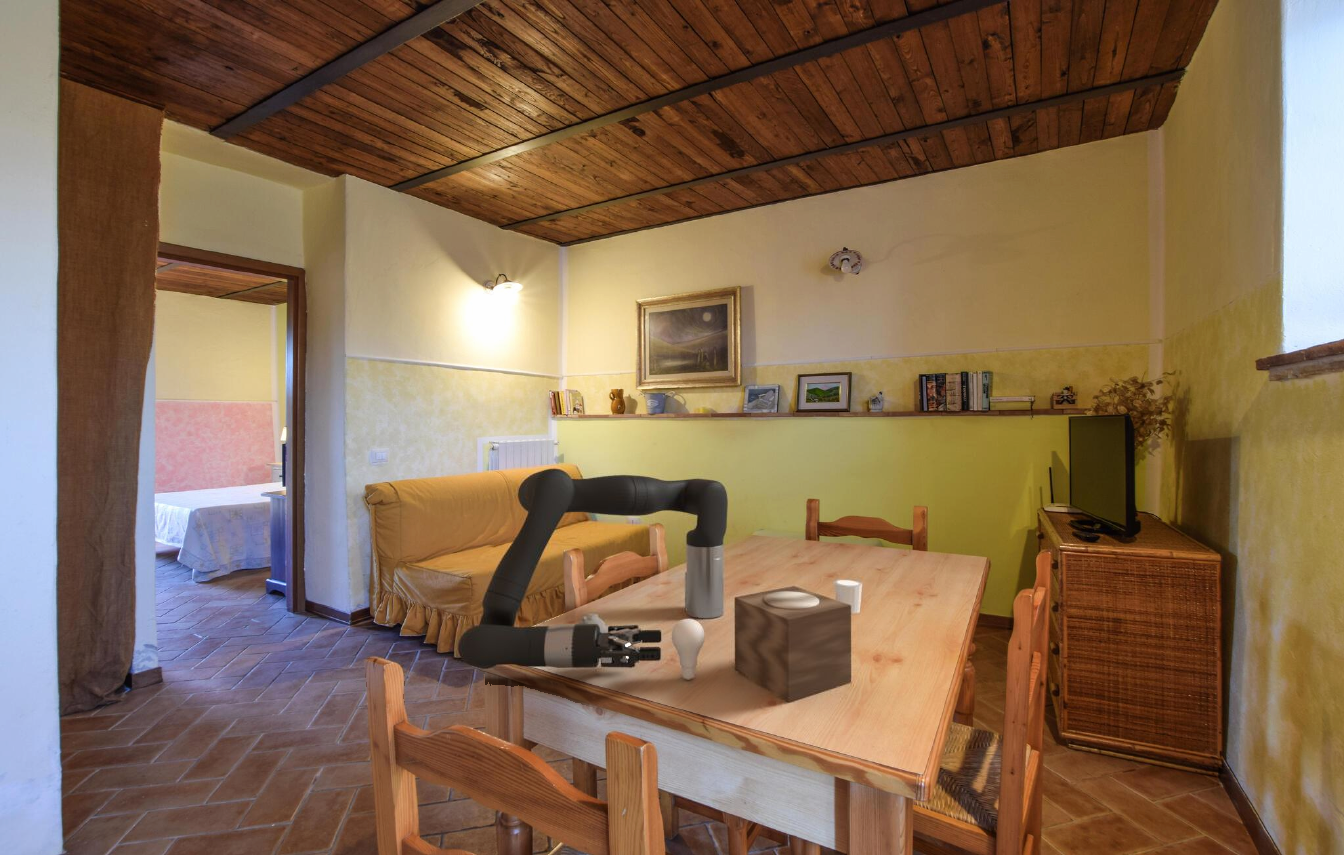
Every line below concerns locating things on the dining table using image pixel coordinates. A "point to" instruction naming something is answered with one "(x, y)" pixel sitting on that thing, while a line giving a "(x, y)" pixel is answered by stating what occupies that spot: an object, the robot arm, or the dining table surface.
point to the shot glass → (849, 593)
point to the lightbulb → (688, 645)
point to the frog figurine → (594, 622)
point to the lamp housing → (793, 641)
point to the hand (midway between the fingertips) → (661, 644)
